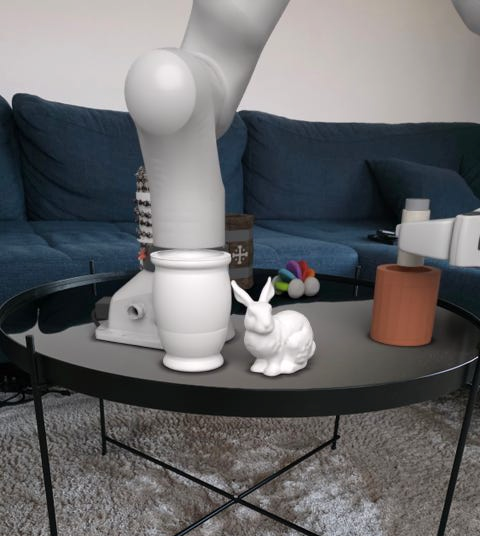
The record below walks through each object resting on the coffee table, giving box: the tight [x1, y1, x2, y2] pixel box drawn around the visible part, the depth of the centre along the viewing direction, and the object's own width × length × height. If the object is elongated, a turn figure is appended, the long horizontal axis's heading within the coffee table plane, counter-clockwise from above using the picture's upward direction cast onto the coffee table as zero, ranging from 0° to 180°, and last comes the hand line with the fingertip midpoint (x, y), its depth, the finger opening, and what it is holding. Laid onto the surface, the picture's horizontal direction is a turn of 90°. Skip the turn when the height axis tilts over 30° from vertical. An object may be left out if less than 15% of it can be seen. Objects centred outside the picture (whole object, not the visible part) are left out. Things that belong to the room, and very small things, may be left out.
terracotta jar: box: [369, 263, 442, 347], centre depth 94 cm, size 10×10×11 cm
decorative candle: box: [132, 165, 153, 272], centre depth 115 cm, size 9×9×25 cm
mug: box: [225, 212, 255, 292], centre depth 132 cm, size 20×14×15 cm
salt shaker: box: [396, 198, 431, 267], centre depth 89 cm, size 4×4×10 cm
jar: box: [150, 249, 232, 373], centre depth 80 cm, size 11×10×15 cm
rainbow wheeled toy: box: [271, 259, 321, 300], centre depth 124 cm, size 8×10×7 cm
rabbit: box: [231, 276, 317, 377], centre depth 80 cm, size 12×9×12 cm
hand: (408, 229), depth 90 cm, fingers closed on salt shaker, 4 cm apart
